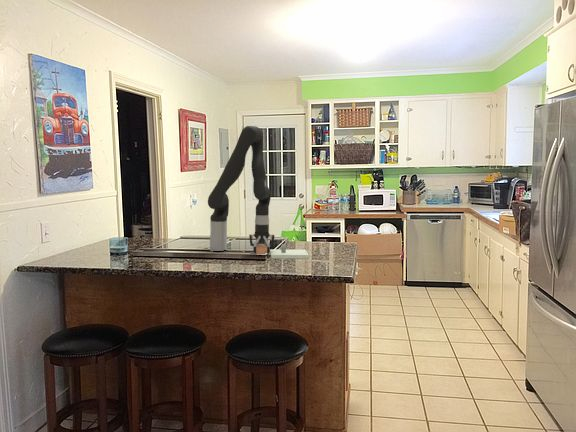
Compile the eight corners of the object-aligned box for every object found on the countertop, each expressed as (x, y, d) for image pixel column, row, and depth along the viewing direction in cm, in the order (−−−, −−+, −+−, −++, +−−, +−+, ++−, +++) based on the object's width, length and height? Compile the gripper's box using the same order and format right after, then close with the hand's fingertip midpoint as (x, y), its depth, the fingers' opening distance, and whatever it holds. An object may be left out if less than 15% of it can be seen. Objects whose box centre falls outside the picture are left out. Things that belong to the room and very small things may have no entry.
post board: (271, 258, 254) (271, 247, 253) (270, 252, 268) (270, 242, 267) (308, 258, 256) (309, 247, 255) (305, 253, 270) (305, 242, 269)
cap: (255, 256, 258) (256, 246, 258) (255, 253, 265) (255, 244, 264) (267, 256, 259) (267, 246, 258) (266, 253, 265) (267, 244, 264)
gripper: (248, 224, 255) (248, 254, 257) (275, 224, 256) (275, 254, 259) (248, 222, 262) (248, 252, 265) (274, 222, 264) (274, 252, 266)
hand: (261, 253), depth 262 cm, fingers closed on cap, 6 cm apart
